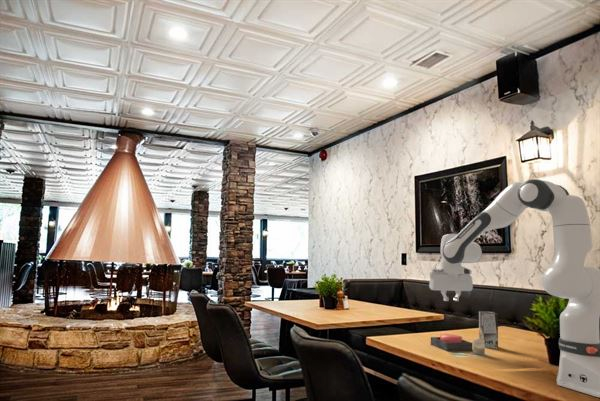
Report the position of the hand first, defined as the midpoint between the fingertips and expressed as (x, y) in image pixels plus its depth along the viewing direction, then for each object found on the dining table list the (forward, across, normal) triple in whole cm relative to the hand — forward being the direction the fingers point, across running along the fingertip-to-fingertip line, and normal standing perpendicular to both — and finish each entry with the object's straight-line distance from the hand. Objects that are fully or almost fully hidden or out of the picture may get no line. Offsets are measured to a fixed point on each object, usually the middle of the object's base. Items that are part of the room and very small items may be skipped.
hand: (451, 301), depth 185 cm
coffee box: (+21, +21, +2) cm, 30 cm away
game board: (+21, 0, -6) cm, 22 cm away
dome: (+19, 0, 0) cm, 19 cm away
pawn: (+20, +4, -12) cm, 24 cm away
